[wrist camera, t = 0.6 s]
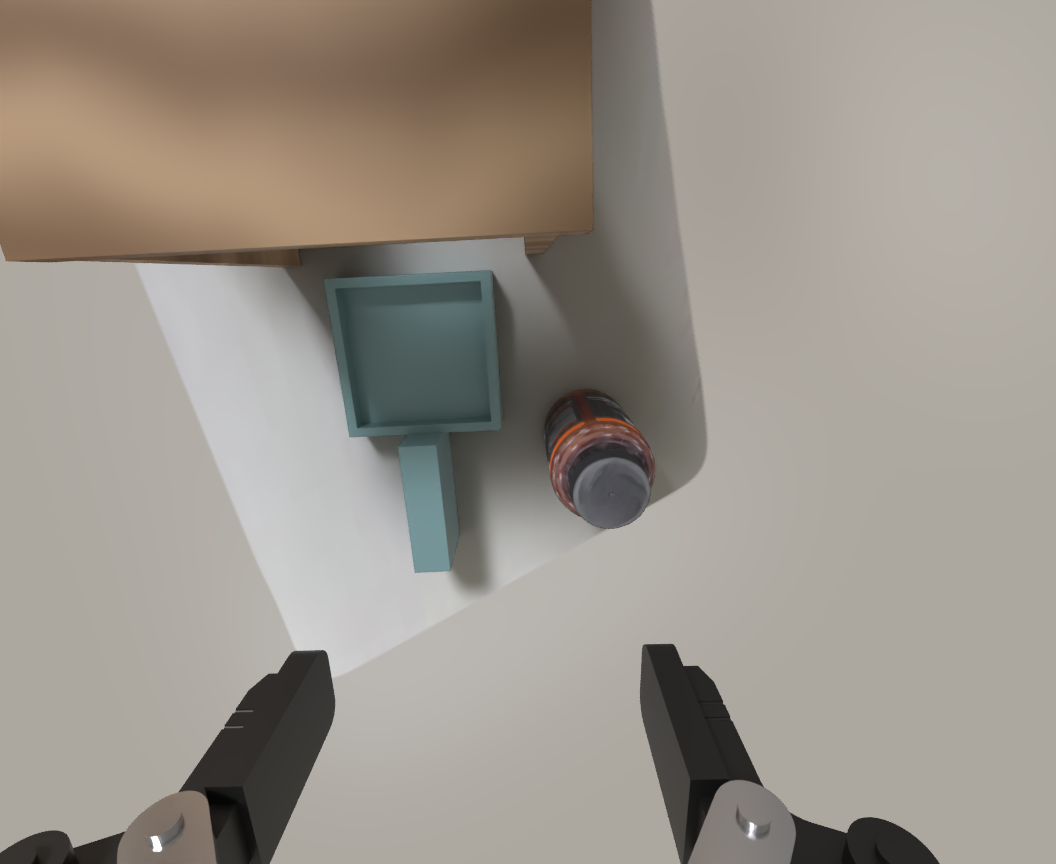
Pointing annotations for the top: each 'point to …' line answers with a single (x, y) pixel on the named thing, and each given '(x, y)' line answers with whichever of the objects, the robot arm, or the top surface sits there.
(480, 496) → the top surface
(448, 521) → the dustpan
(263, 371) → the top surface
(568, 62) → the wooden bridge stand
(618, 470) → the supplement bottle
